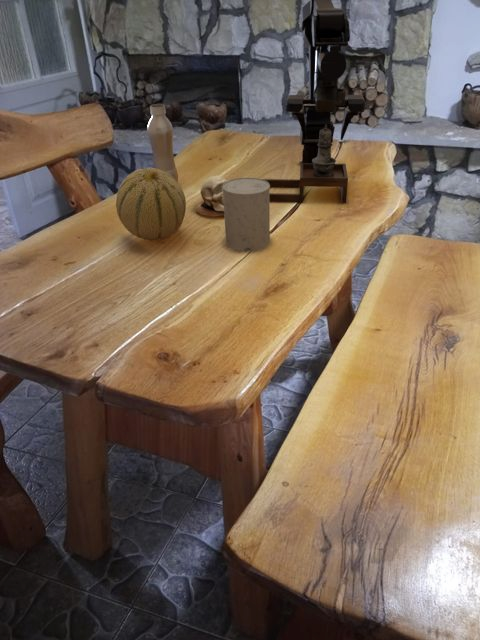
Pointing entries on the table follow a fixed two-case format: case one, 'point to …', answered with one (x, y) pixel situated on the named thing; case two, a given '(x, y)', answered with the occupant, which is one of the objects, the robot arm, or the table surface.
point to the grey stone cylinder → (247, 214)
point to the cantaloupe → (150, 204)
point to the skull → (212, 197)
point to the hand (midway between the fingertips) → (323, 139)
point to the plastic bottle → (162, 140)
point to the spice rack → (309, 183)
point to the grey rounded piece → (324, 155)
